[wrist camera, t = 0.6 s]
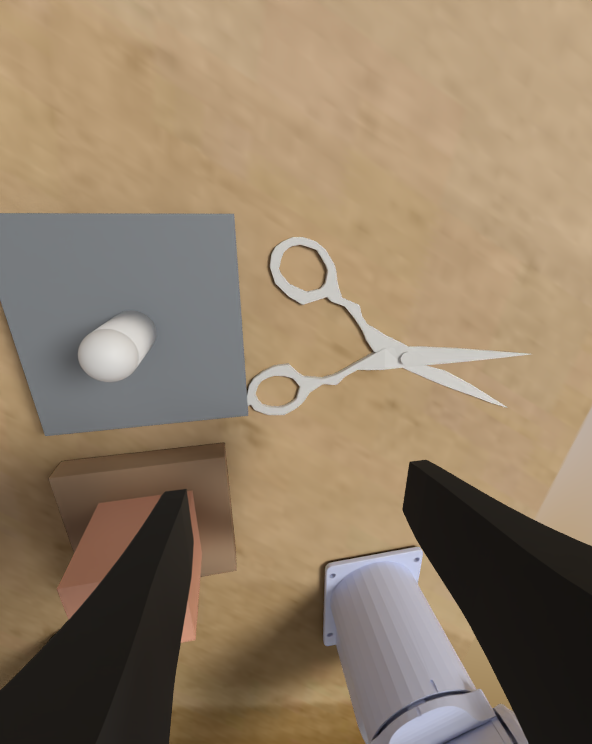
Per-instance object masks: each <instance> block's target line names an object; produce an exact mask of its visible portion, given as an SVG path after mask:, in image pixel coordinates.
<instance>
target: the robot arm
mask: <svg viewBox="0 0 592 744" xmlns="http://www.w3.org/2000/svg"><path fill="white" fill-rule="evenodd" d="M402 510H403V512H404V515H405V517H406V519H407V521H408V523H409V526H410V528H411V530H412V532H413V534H414V536H415V538H416V540H417V541H418V543H419V545H420V546H421V548H422V549H423V551H424V553H425V554H426V556H427V557H428V559H429V561H430V562H431V564H432V565H433V567H434V568H435V570H436V572H437V573H438V575H439V576H440V578H441V579H442V581H443V582H444V584H445V586H446V587H447V589H448V590H449V592H450V593H451V595H452V597H453V598H454V600H455V601H456V603H457V604H458V606H459V608H460V609H461V611H462V613H463V614H464V616H465V618H466V619H467V621H468V623H469V625H470V626H471V628H472V630H473V632H474V634H475V636H476V638H477V640H478V642H479V644H480V645H481V647H482V649H483V651H484V653H485V655H486V657H487V659H488V660H489V663H490V665H491V667H492V669H493V671H494V673H495V675H496V677H497V679H498V681H499V683H500V685H501V687H502V689H503V691H504V693H505V695H506V697H507V699H508V701H509V703H510V705H511V707H512V709H513V711H514V712H513V711H512V710H510V709H508V708H507V707H506V706H505V705H503V704H498V705H497V706H496V707H494V708H493V709H492V707H491V706H490V704H489V702H488V700H487V699H486V697H485V695H484V693H483V691H482V690H481V689H477V690H476V688H475V686H474V684H473V682H472V681H471V679H470V677H469V675H468V673H467V672H466V670H465V668H464V666H463V664H462V663H461V661H460V659H459V657H458V655H457V654H456V652H455V650H454V648H453V647H452V645H451V643H450V641H449V639H448V638H447V636H446V634H445V632H444V630H443V629H442V627H441V625H440V623H439V621H438V620H437V618H436V616H435V614H434V612H433V611H432V609H431V607H430V605H429V603H428V602H427V600H426V598H425V596H424V594H423V593H422V591H421V589H420V587H419V586H418V579H419V573H420V568H421V562H422V556H423V552H422V550H421V548H420V547H412V548H407V549H402V550H396V551H391V552H385V553H380V554H374V555H369V556H364V557H358V558H353V559H347V560H342V561H336V562H331V563H329V564H327V565H326V567H325V587H324V622H323V641H324V645H326V646H331V645H336V646H337V650H338V654H339V657H340V661H341V665H342V668H343V672H344V676H345V679H346V683H347V687H348V690H349V694H350V698H351V701H352V705H353V709H354V713H355V716H356V720H357V724H358V727H359V729H360V732H361V735H362V737H363V739H364V741H365V743H366V744H592V546H590V545H587V544H585V543H583V542H580V541H578V540H576V539H573V538H571V537H569V536H567V535H565V534H563V533H560V532H558V531H556V530H554V529H552V528H549V527H547V526H545V525H543V524H541V523H539V522H537V521H535V520H533V519H531V518H529V517H527V516H525V515H523V514H521V513H520V512H518V511H516V510H514V509H512V508H510V507H508V506H506V505H505V504H503V503H501V502H499V501H497V500H495V499H494V498H492V497H490V496H488V495H487V494H485V493H483V492H481V491H480V490H478V489H476V488H475V487H473V486H471V485H469V484H468V483H466V482H464V481H463V480H461V479H459V478H458V477H456V476H454V475H453V474H451V473H449V472H447V471H446V470H444V469H442V468H441V467H439V466H437V465H435V464H433V463H431V462H429V461H428V460H421V461H413V462H410V463H409V469H408V476H407V483H406V489H405V496H404V503H403V509H402ZM193 547H194V538H193V531H192V524H191V517H190V510H189V502H188V495H187V489H181V490H173V491H165V492H164V493H163V494H162V495H161V497H160V499H159V500H158V502H157V504H156V505H155V507H154V508H153V510H152V511H151V513H150V515H149V516H148V518H147V519H146V521H145V522H144V524H143V525H142V527H141V528H140V530H139V531H138V533H137V534H136V535H135V537H134V538H133V540H132V541H131V542H130V544H129V545H128V547H127V548H126V549H125V551H124V552H123V554H122V555H121V556H120V558H119V559H118V560H117V562H116V563H115V564H114V565H113V567H112V568H111V569H110V571H109V572H108V573H107V574H106V576H105V577H104V578H103V580H102V581H101V582H100V583H99V585H98V586H97V587H96V588H95V590H94V591H93V592H92V593H91V594H90V596H89V597H88V598H87V599H86V600H85V602H84V603H83V604H82V605H81V606H80V607H79V609H78V610H77V611H76V612H75V613H74V614H73V615H72V616H71V618H70V619H69V620H68V621H67V622H66V623H65V624H64V625H63V627H62V628H61V629H60V630H59V631H58V632H57V633H56V634H55V635H54V636H53V637H52V638H51V639H50V640H49V642H48V643H47V644H46V645H45V646H44V647H43V648H42V649H41V650H40V651H39V652H38V653H37V654H36V655H35V656H34V657H33V658H32V659H31V660H30V661H29V662H28V664H27V665H26V666H25V667H24V668H23V669H22V670H21V671H20V672H19V673H18V674H17V675H16V676H15V677H14V678H13V679H12V680H11V681H10V682H8V683H7V684H6V685H5V686H4V687H3V688H2V689H1V690H0V744H169V736H170V724H171V713H172V702H173V691H174V683H175V675H176V668H177V662H178V656H179V650H180V644H181V638H182V632H183V626H184V620H185V614H186V608H187V602H188V596H189V590H190V584H191V578H192V564H193Z"/></svg>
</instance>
